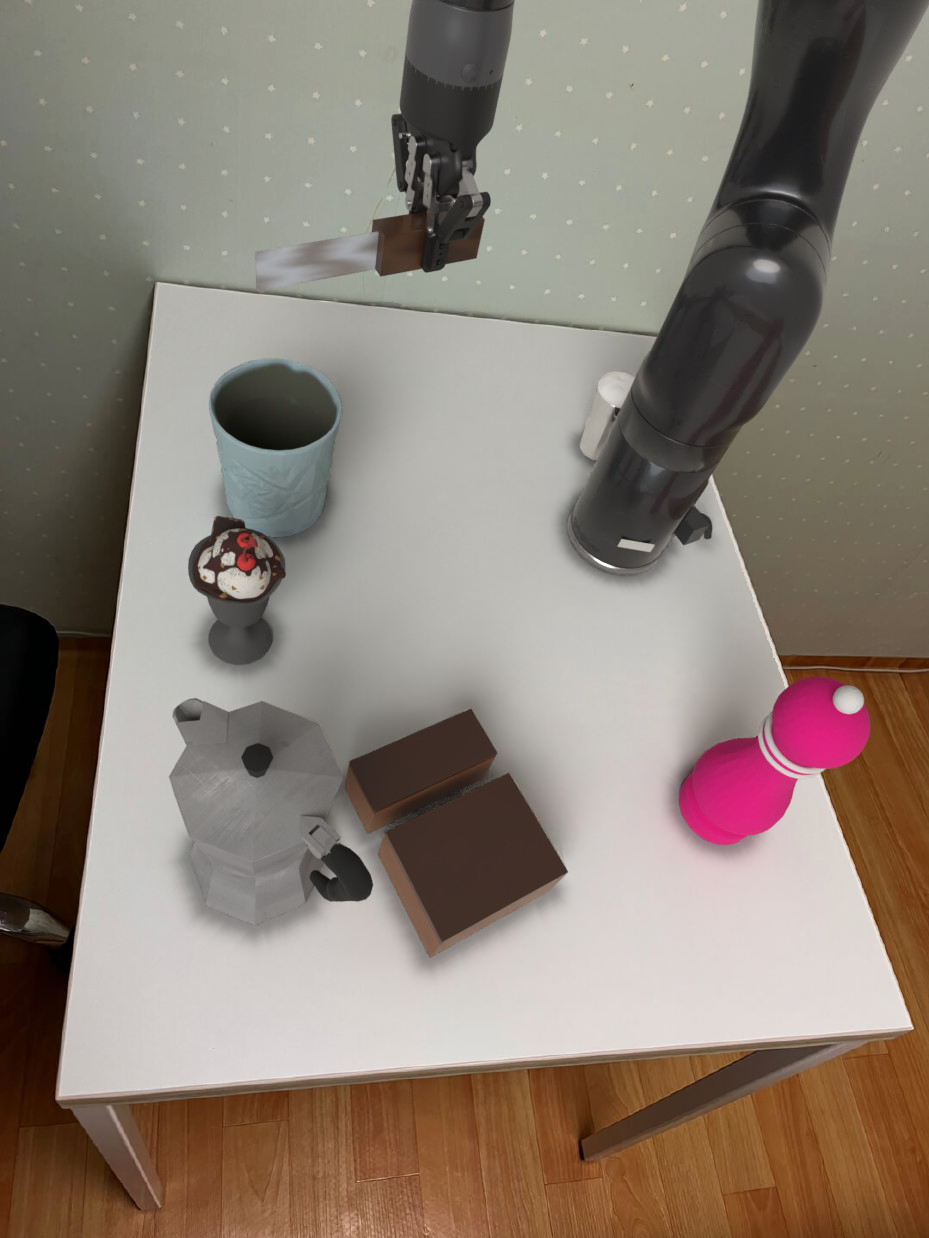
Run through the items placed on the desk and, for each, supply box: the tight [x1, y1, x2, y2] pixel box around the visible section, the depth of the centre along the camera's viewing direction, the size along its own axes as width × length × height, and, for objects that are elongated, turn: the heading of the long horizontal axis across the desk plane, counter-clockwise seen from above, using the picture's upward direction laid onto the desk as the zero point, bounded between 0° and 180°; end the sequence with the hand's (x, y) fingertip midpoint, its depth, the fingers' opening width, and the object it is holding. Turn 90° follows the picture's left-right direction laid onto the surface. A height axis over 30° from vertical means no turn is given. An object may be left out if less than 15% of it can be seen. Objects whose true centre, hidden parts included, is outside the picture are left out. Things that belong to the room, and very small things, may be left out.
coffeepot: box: [168, 697, 374, 926], centre depth 53 cm, size 15×9×18 cm, turn 49°
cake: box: [377, 772, 569, 959], centre depth 61 cm, size 10×8×5 cm
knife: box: [254, 211, 486, 292], centre depth 75 cm, size 21×2×4 cm, turn 119°
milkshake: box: [578, 371, 635, 461], centre depth 84 cm, size 4×5×10 cm
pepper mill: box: [678, 676, 871, 846], centre depth 61 cm, size 7×7×20 cm
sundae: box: [187, 515, 287, 666], centre depth 63 cm, size 7×7×15 cm
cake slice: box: [343, 708, 499, 835], centre depth 63 cm, size 10×4×5 cm, turn 120°
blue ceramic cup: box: [208, 358, 343, 538], centre depth 72 cm, size 10×10×12 cm
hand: (424, 258), depth 79 cm, fingers closed on knife, 2 cm apart
